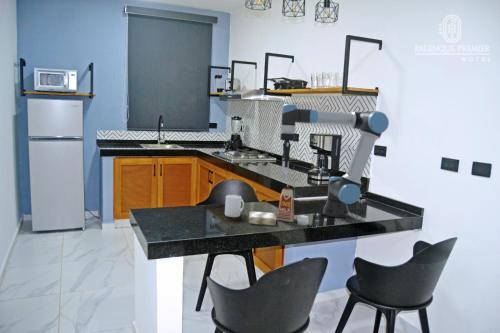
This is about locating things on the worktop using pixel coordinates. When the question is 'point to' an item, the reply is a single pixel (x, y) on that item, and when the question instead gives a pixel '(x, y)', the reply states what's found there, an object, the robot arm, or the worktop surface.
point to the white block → (302, 220)
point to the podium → (262, 218)
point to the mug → (233, 205)
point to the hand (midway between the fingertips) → (284, 171)
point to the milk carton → (286, 205)
